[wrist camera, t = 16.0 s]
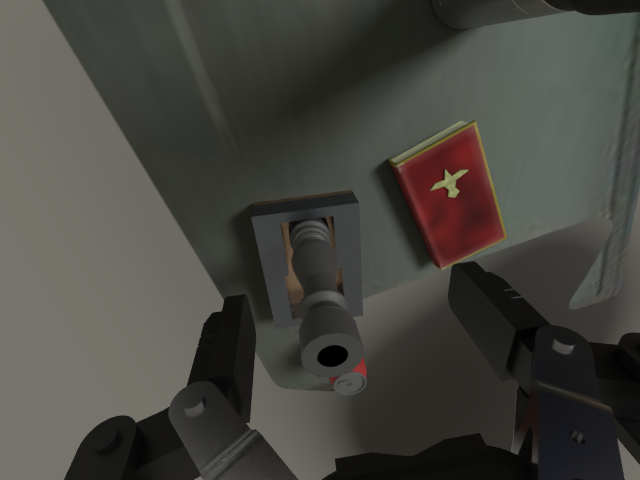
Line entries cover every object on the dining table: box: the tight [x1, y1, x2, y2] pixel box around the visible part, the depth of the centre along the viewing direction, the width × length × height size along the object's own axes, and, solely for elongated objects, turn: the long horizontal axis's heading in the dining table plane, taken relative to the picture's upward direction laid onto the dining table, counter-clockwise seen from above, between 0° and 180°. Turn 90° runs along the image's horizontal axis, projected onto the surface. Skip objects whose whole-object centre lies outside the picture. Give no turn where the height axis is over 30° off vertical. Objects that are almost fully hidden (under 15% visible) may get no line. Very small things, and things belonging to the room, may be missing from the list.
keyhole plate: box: [251, 190, 363, 329], centre depth 52 cm, size 15×21×5 cm
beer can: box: [329, 358, 366, 395], centre depth 58 cm, size 7×7×12 cm
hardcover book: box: [388, 120, 507, 270], centre depth 50 cm, size 12×21×4 cm, turn 29°
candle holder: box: [289, 217, 364, 378], centre depth 40 cm, size 6×6×25 cm
